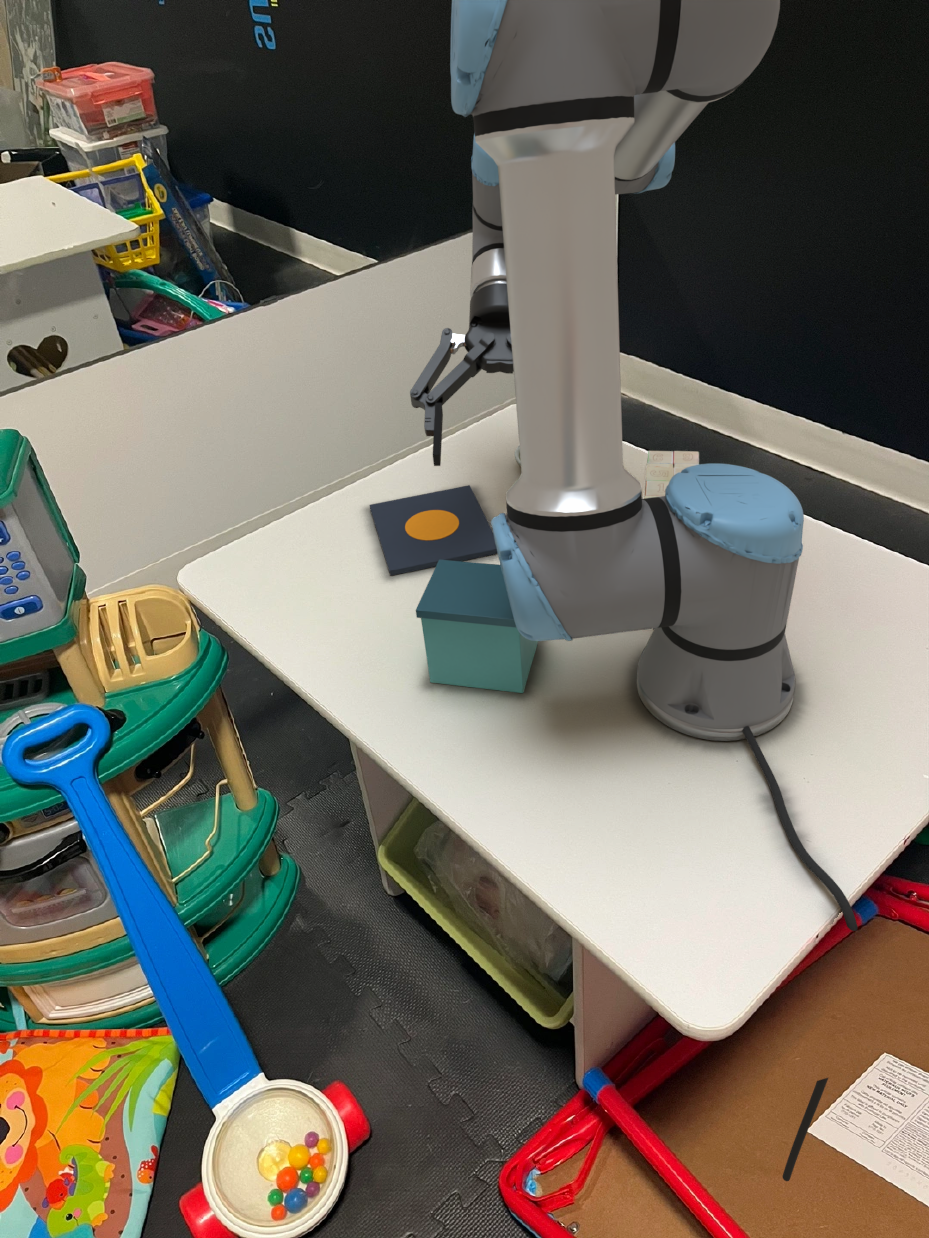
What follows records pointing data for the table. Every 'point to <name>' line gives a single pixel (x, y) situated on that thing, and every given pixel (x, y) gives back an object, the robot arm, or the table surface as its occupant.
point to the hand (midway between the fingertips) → (497, 462)
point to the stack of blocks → (666, 469)
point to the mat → (432, 529)
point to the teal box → (473, 629)
